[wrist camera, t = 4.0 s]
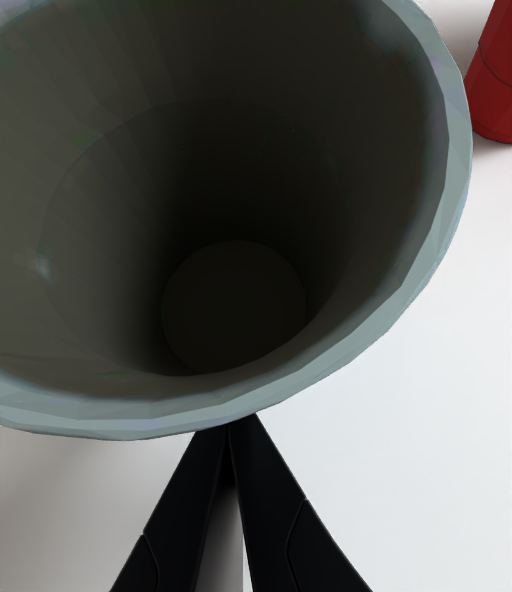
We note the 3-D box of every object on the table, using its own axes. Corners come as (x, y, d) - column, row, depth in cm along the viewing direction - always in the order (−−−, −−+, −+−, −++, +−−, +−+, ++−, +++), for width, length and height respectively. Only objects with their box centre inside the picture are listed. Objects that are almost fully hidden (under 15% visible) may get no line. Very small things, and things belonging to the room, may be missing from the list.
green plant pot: (372, 315, 16) (627, 106, 4) (218, 458, 14) (-11, 709, 3) (244, 191, 19) (198, -136, 7) (102, 299, 17) (-251, 98, 6)
